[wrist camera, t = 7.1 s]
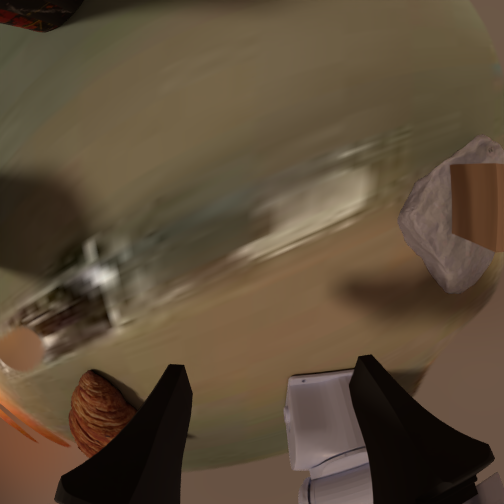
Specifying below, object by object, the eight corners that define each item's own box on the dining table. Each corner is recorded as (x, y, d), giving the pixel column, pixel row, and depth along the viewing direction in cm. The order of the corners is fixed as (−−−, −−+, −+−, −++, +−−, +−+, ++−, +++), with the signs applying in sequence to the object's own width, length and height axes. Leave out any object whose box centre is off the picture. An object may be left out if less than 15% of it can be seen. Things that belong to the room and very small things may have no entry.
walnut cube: (451, 233, 15) (495, 252, 10) (449, 164, 14) (495, 163, 9) (495, 230, 14) (539, 246, 9) (494, 167, 13) (540, 169, 8)
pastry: (48, 388, 28) (28, 428, 21) (94, 363, 25) (68, 420, 18) (130, 445, 35) (121, 483, 27) (194, 434, 31) (189, 484, 24)
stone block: (373, 210, 20) (436, 289, 21) (396, 220, 15) (462, 312, 16) (454, 117, 17) (506, 202, 18) (486, 110, 12) (537, 210, 13)
